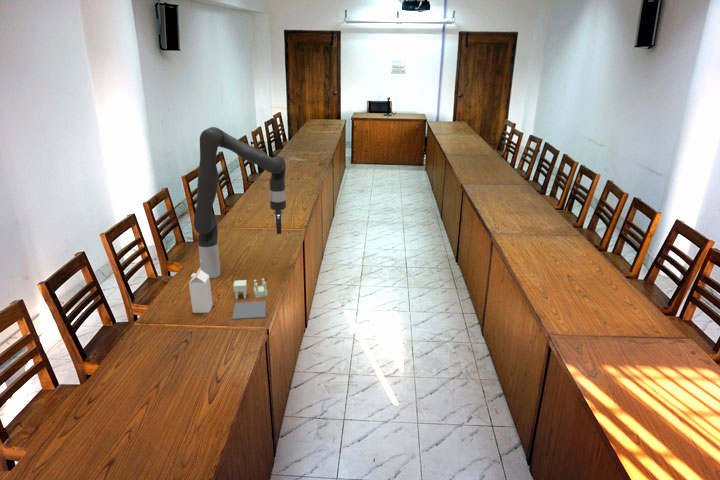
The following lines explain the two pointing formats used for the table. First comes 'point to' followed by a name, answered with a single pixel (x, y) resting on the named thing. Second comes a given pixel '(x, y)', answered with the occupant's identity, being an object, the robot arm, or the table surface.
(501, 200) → the table surface
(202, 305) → the milk carton
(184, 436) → the table surface
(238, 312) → the mat
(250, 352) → the table surface
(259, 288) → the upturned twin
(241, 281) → the cube with twin tabs
